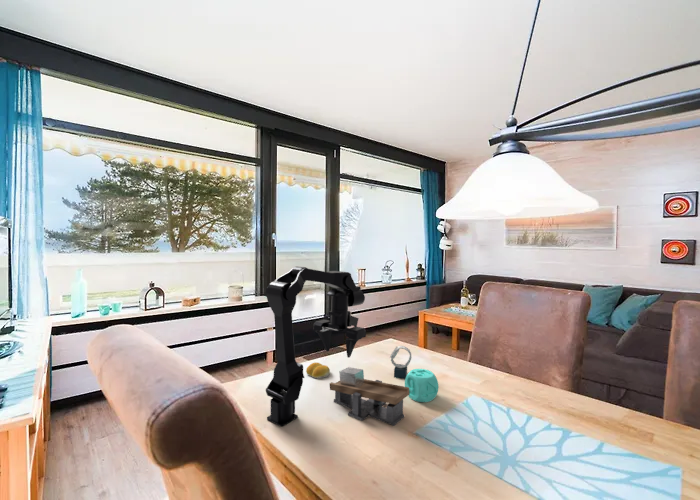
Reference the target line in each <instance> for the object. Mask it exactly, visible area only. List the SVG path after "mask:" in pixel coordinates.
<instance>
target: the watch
mask: <svg viewBox="0 0 700 500" xmlns="http://www.w3.org/2000/svg"><path fill="white" fill-rule="evenodd" d="M400 349H403V350H405V351H406V352H407V353H408V354H409V357H408V360H407V361H406V362H405V363H404V364H402V363H401V364H399V363H396V362H395V361H394V359H395V358H396V356H397V354H399V352H400ZM389 358H390V361H391V364H392V365H393V366H394V369H393V378H395V377H396V379H404V380H405V378H406V376H407V374H408V367H409V364H410V363H411V360H412V351H411V350H410V349H409V348H408V346H406V345H405V346H404V345H398V346H395V348H394V350H393V351H392V352H391V355H390V357H389Z"/></svg>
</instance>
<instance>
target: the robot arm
mask: <svg viewBox="0 0 700 500" xmlns="http://www.w3.org/2000/svg"><path fill="white" fill-rule="evenodd" d="M306 281H309V282H314V283H323V284H325V285H326V286H327V287H330V288H331V289H330V290H329V291H328V292H327V293H326V295H327V296H328V297H331V303H330V308H331V309H330V311H328V315H329V316H330V320H328V319H320V320H316V321H315V322H314V323H313V331H315V332H316V334H317V335H318V336H319V338H320V340H321V342H322V344H323V345H322V346H323V347H324V349H325V351H326V352H327V353H328V352H330V348H331V335H332V333H333V332H337V333H338V332H339V333H342V334H345V336H346V338H345V339H344V340H345V346H346V348H345V349H346V357H347V358H351V355H352V353H353V351H354V348H355V346H356V344H357V343H358V341H359V340H362V339H363V338H365V337H366V336H367V331H366V329H365V327H361V326H358V322H359V317H357V316H353V315H352V313H351V311H350V310H349V307H356V306H361V305H363V303H365V299H366V295H365V294H364V291H363V290H362V288H361V286H359V285H356V284H355V282H354V279H353V277H352V274H351V272H347V271H339V270H329V271H323V270H318V269H313V268H308V267H305V266H293V267H292V268H291V269H290V270H289V271H288V272H286V273H284V274H282V275H280V276H278V277H277V278H276V279H274V281H271V282H270V283H269V284H268V285H267V287H266V288H265V295H266V300H267V304H268V306H269V308H270V309H271V311H272V313H273V316H274V328H275V329H274V330H275V341H276V343H275V344H276V355H277V363H276V364H275V367H274V368H273V376H272V377H273V378H271V381H270V382H269V384H268V385H267V386H266V388H265V393H266V396H267V397H270V398H271V399H270V415H268V416H266V420H268V421H270V422H272V423H274V424H276V425H277V426H279V427H284V426H286V425H287V424H289V423H291V422H292V421H294V420H296V419H297V418H299V416H298V414H296V413H295V412H296V401H298V400H299V397H300V395H301V394H300V393H301V390H302V386H303V383H304V379H305V375H304V365H303V364H302V363H299V362H297V361H296V354H295V341H294V340H295V339H294V325H293V315H292V314H293V311H294V308H295V306H296V304H297V296H298V295H299V294H300V293H301V292H302V291H303V288H304V285H305V283H306ZM352 326H353V327H352Z"/></svg>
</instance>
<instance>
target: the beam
mask: <svg viewBox="0 0 700 500" xmlns="http://www.w3.org/2000/svg"><path fill="white" fill-rule="evenodd" d="M329 390H330V391H334V392H335V391H338V392H342V393H346V394H351V395H353V394H354V393H355V392H357V393H360V394H362V396H361V398H363V399H364V398H365V399H367V400H368V399H373V400H377V401H381V402H386V404H389V403H390V404H394V405H396V404H397V403H399V402H400V401H401V400H403V401H404V399H406V398H407V397H409V396H408V395H409V387H405V385H404V386H403V385H397V384H392V383H388V382H387V383H386V382H383V381H382V382H377V381H376V380H372V379H365V378H364V384H363V385H362V386H360V387H358V388H356V387H351V386H346V385H342V384H340V380H338V381H337V382H330V383H329Z"/></svg>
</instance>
